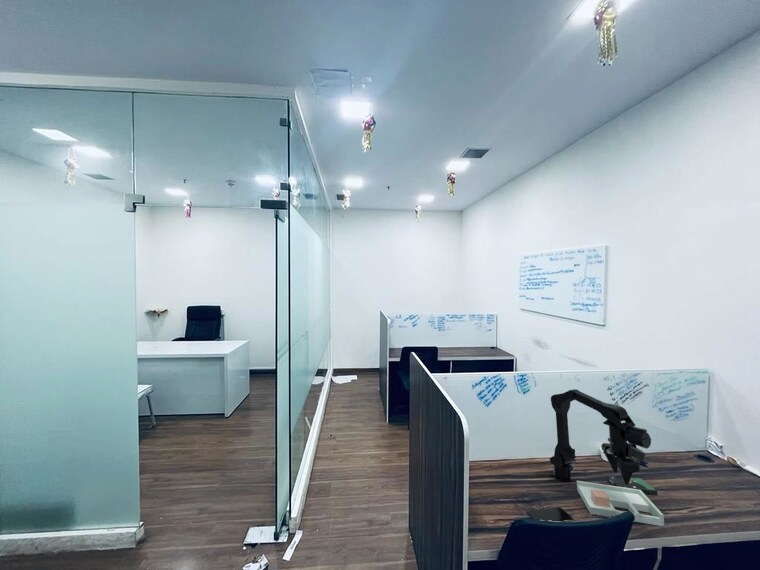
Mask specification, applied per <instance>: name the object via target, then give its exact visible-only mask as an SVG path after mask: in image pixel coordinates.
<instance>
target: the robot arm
mask: <svg viewBox="0 0 760 570" xmlns="http://www.w3.org/2000/svg"><path fill="white" fill-rule="evenodd" d="M572 401H573V402H574V401H576V402H578V403H581V404H582V405H585V406H586V407H589V408H590V409H593V410H594V411H596V412H598V413H600V415H601V416H602V417H603V418H605V419H606V420H605V421H603V422H602V424H603V425H606V426H608V430H609V431H608V433H609V435H608V436H609V437H607V441H608V442H609V443H607V442H603V443H602V444H601V446H600V447H601V451H602V452H603V454H604V456H605V457H606V460H607V462H608V463H609V466H610V468H611V470H612V471H613V472H614V473H615V474H616V473H618V470H619V474H620V477H622V479H623V481H624V483H625V484H627V485H628V484H629V481H630V478H632V476H633V474H634V473H639V472H641V465H640V464H638V463H637V462H636V461H635V460H634V459H633V458H635V459H637V460H639V461H641V462H644V461H645V457H646V453H645V452H644V451H643V450H642V449H640V448H638V447H641V448H643V449H647V450H648V449H649V448H650V447H651V444H652V438H651V436H650V434H649V433H648V431H647V429H646V428H640V427H638V426H637V425H636V423H634V421H633V420H632V418H631V417H630V415H629V414H628V411H627V409H625V407H623V406H621V405H617V404H613V403H607V402H603V401H602V400H599V399H597V398H596V397H593V396H591V395H588V394H586V393H585V392H582V391H580V390H579V389H577V388H576V389H568V390H567V391H565V392H562V393H556V394H553V395H551V396H550V405H551V408H552V409H553V410H554V412H555V422H556V423H555V424H556V435H557V436H556V437H557V438H556V439H557V443H556V445H555V447H554V455H553V456H551V457H549V463H550V464H551V465H552V466H553V467H552V468H553V471H552V476H553V477H554V479H555V480H556V481H557V480H558V481H565V482H571V481H572V480H571V479H572V475H571V473H572V472H571V468H570V466H569V465H572V463H573V462H574V461H575V460H576V458H577V457H576V450H575V449H576V448H572V446H571V444H570V436H569V419H568V414H569V413H568V412H569V410H570V408H571V404H572V403H571V402H572Z"/></svg>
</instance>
